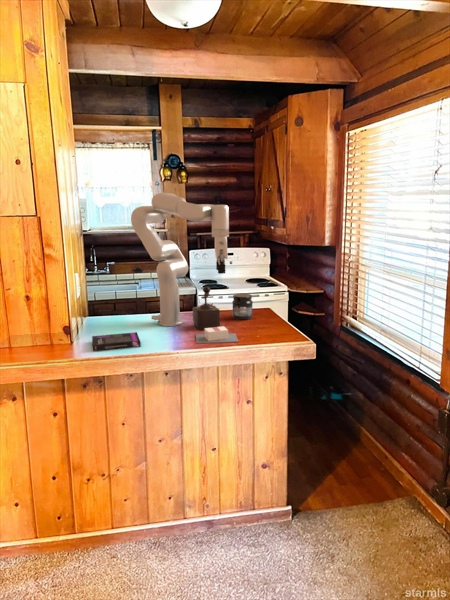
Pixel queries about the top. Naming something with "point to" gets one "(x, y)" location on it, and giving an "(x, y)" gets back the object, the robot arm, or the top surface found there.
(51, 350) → the top surface
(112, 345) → the box
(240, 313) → the supplement container
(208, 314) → the vintage coffee grinder
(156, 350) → the top surface
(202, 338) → the mat
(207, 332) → the card box
